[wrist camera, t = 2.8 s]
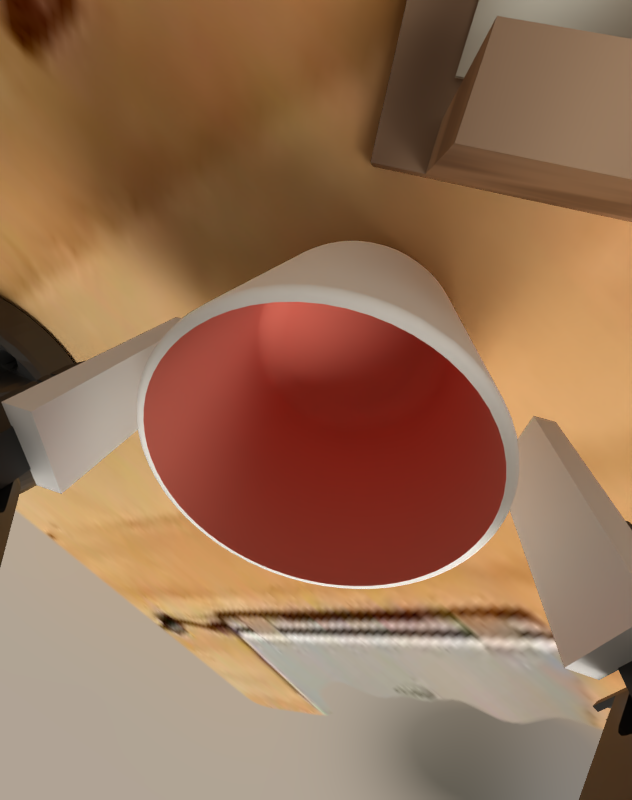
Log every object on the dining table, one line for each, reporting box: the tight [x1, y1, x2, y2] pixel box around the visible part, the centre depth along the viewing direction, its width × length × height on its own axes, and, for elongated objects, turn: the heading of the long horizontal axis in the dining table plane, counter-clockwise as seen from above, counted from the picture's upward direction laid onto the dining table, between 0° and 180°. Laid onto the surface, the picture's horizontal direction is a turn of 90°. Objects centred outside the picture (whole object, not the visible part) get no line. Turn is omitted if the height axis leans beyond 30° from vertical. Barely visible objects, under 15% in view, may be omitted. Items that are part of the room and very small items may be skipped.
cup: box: [137, 241, 520, 589], centre depth 13 cm, size 10×10×10 cm
